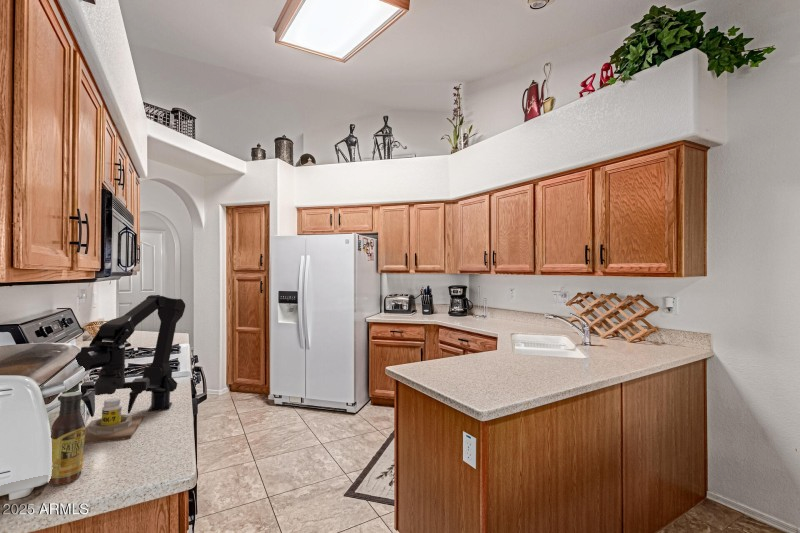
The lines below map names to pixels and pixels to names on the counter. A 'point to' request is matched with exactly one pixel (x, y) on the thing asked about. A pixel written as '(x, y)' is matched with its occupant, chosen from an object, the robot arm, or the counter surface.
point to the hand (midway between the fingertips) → (111, 414)
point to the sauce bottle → (67, 440)
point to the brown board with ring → (112, 429)
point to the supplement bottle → (111, 412)
